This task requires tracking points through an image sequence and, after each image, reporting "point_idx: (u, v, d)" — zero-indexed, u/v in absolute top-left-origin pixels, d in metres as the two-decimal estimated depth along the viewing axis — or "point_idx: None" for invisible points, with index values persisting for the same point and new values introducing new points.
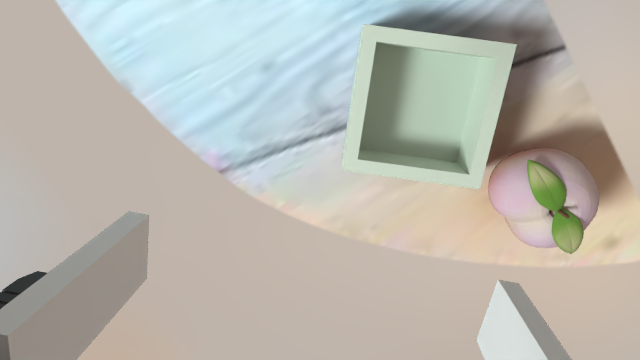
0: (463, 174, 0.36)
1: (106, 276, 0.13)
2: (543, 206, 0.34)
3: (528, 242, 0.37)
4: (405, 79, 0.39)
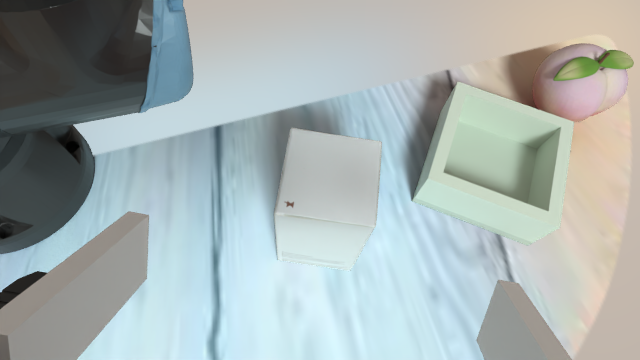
0: (561, 131, 0.42)
1: (106, 276, 0.13)
2: (596, 71, 0.41)
3: (623, 91, 0.43)
4: (462, 173, 0.44)
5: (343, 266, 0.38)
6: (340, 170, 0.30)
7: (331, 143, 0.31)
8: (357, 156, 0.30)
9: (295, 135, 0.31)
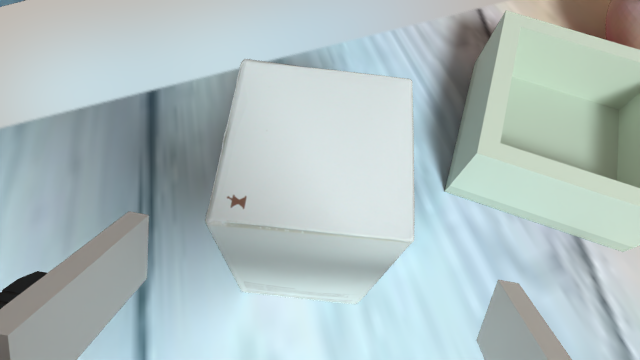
0: None
1: (106, 276, 0.13)
2: None
3: None
4: (517, 147, 0.29)
5: (346, 299, 0.23)
6: (338, 132, 0.15)
7: (319, 84, 0.16)
8: (369, 105, 0.16)
9: (250, 72, 0.17)
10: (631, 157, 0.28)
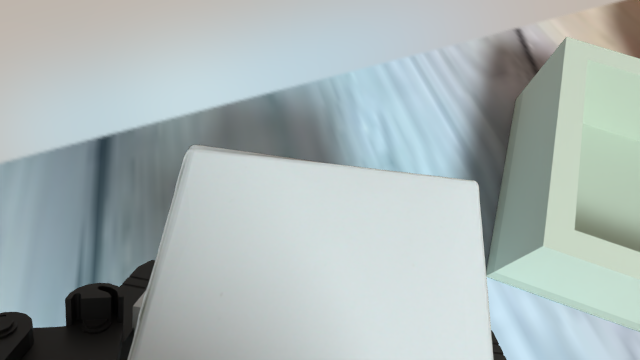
0: None
1: None
2: None
3: None
4: (579, 216, 0.22)
5: None
6: (352, 295, 0.08)
7: (318, 194, 0.09)
8: (407, 237, 0.09)
9: (200, 171, 0.10)
10: None
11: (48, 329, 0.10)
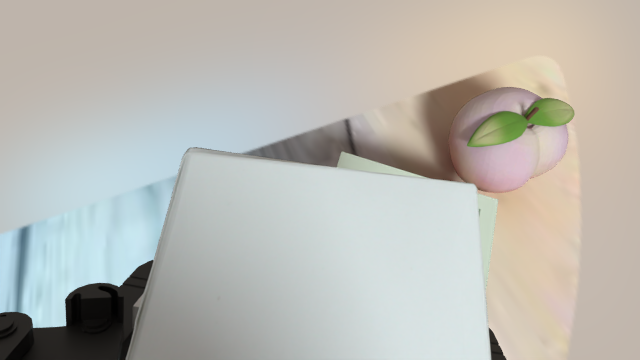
0: (480, 215, 0.30)
1: None
2: (523, 132, 0.30)
3: (562, 153, 0.32)
4: None
5: None
6: (351, 299, 0.08)
7: (316, 197, 0.09)
8: (405, 240, 0.09)
9: (198, 174, 0.10)
10: None
11: (48, 329, 0.10)
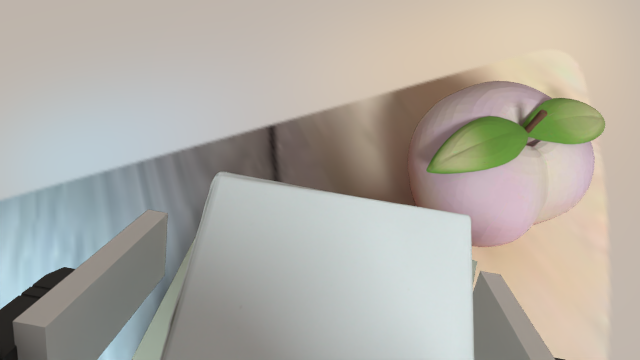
0: None
1: (129, 272, 0.13)
2: (519, 153, 0.18)
3: (585, 188, 0.20)
4: None
5: None
6: (354, 314, 0.10)
7: (328, 222, 0.11)
8: (404, 264, 0.10)
9: (226, 196, 0.11)
10: None
11: None
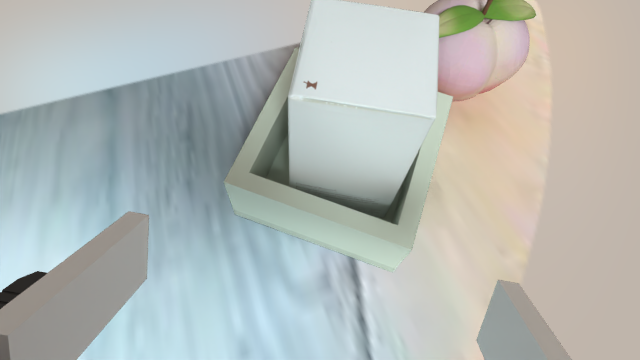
0: None
1: (106, 276, 0.13)
2: (477, 24, 0.29)
3: (523, 53, 0.31)
4: None
5: (376, 208, 0.29)
6: (383, 45, 0.21)
7: (369, 14, 0.22)
8: (406, 30, 0.22)
9: (319, 4, 0.22)
10: (404, 183, 0.30)
11: None
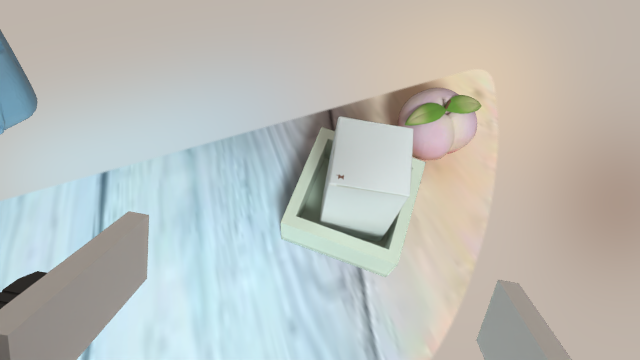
0: (412, 171, 0.45)
1: (106, 276, 0.13)
2: (441, 116, 0.45)
3: (471, 132, 0.47)
4: None
5: (375, 236, 0.45)
6: (380, 151, 0.37)
7: (372, 129, 0.38)
8: (394, 140, 0.37)
9: (343, 122, 0.38)
10: None
11: None
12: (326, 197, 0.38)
